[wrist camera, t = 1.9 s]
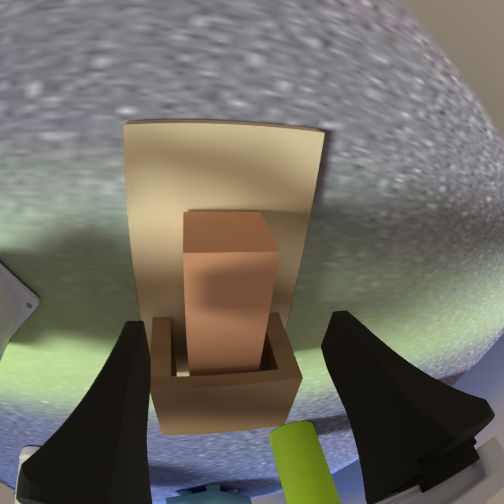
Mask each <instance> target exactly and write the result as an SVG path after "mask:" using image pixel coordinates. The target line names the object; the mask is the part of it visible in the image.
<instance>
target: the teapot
mask: <svg viewBox="0 0 504 504" xmlns="http://www.w3.org/2000/svg"><path fill="white" fill-rule="evenodd" d="M205 487H206V491H204V492H199V493H194V494H192V492H191V491H188V490H181V491H177V492H178V493H179V494H180V496H177V497H170V498H166V504H252V503H251V498H250V497H247V496H242V495H237V492H238V489H231V490H226V491H225V492H224V491H220V485H219V484H211V485H207V486H205Z"/></svg>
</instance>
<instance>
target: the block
mask: <svg viewBox="0 0 504 504" xmlns="http://www.w3.org/2000/svg"><path fill="white" fill-rule="evenodd" d="M279 254H280V251H279V249H278V247H277V245H276V243H275V241H274V239H273V237H272V235H271V233H270V231H269V229H268V227H267V225H266V223H265V221H264V219H263V217H262V215H261V213H260V212H183V270H184V298H185V319H186V336H187V351H188V364H189V376H204V375H222V374H236V373H249V372H258V371H259V366H260V361H261V355H262V350H263V345H264V339H265V334H266V328H267V323H268V317H269V312H270V306H271V301H272V295H273V289H274V283H275V278H276V272H277V266H278V260H279Z"/></svg>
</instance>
